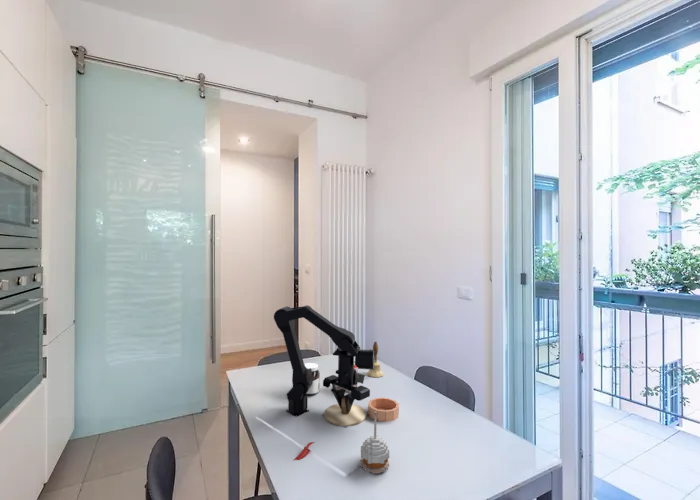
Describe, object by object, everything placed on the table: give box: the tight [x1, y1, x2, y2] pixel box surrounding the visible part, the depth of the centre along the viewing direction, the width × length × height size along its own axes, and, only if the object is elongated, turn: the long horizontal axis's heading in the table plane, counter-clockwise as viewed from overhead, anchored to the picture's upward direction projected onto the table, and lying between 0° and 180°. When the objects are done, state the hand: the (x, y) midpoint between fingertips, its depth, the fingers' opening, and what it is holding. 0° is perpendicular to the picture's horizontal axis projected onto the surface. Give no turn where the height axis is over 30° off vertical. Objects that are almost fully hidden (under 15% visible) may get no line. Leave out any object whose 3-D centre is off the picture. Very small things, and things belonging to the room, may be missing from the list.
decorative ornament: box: [360, 412, 390, 474], centre depth 92 cm, size 8×8×15 cm
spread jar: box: [304, 362, 321, 397], centre depth 141 cm, size 12×11×12 cm
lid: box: [324, 397, 367, 427], centre depth 120 cm, size 15×15×6 cm
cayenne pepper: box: [293, 441, 316, 461], centre depth 99 cm, size 12×5×2 cm, turn 133°
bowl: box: [367, 397, 400, 422], centre depth 122 cm, size 11×11×4 cm
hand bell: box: [366, 341, 384, 378], centre depth 163 cm, size 8×8×16 cm
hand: (345, 410), depth 120 cm, fingers closed on lid, 3 cm apart
